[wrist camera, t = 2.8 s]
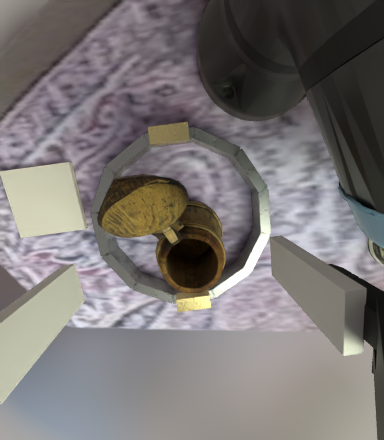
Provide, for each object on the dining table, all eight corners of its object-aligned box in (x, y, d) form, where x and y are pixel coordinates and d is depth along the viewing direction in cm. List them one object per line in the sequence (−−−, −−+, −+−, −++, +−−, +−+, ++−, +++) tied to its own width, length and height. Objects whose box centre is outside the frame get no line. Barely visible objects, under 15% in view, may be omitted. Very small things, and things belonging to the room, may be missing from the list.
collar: (85, 144, 27) (65, 138, 22) (256, 121, 27) (270, 110, 22) (121, 300, 32) (110, 321, 27) (265, 281, 32) (278, 298, 27)
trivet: (4, 171, 27) (-1, 171, 27) (71, 162, 27) (68, 162, 27) (25, 236, 29) (20, 237, 28) (88, 227, 29) (85, 229, 28)
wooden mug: (187, 159, 28) (188, 132, 10) (232, 243, 30) (295, 336, 13) (130, 191, 28) (39, 219, 11) (179, 270, 31) (170, 395, 14)
